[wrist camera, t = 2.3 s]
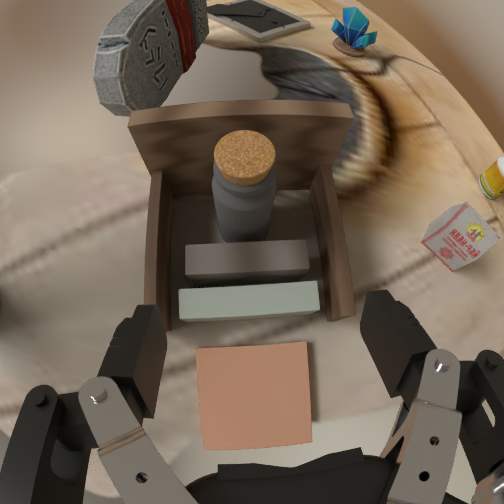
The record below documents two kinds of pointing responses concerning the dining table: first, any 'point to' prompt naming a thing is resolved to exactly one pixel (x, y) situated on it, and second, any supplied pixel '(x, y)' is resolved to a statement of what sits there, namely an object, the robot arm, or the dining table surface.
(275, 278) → the charcoal offcut
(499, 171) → the supplement bottle
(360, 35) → the gemstone
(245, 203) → the bottle
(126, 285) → the dining table surface
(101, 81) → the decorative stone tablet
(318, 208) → the walnut rack
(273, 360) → the terracotta pad
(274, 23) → the picture frame
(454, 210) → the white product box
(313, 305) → the sage offcut
